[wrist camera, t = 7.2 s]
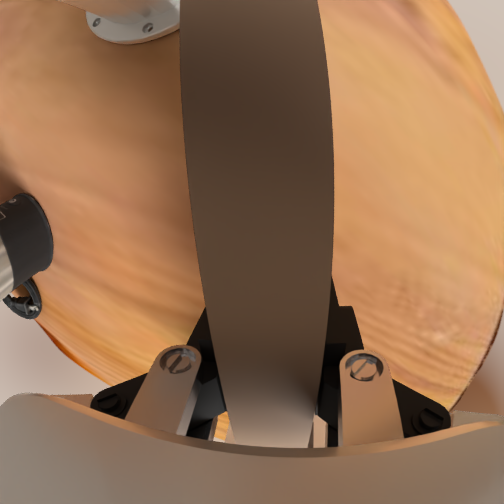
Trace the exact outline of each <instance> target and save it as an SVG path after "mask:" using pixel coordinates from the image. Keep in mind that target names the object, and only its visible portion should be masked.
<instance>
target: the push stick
mask: <svg viewBox="0 0 504 504" xmlns="http://www.w3.org/2000/svg"><path fill="white" fill-rule="evenodd" d="M180 76H181V97H182V114H183V129H184V142H185V153H186V164H187V174H188V184H189V193H190V202H191V210H192V218H193V226H194V234H195V241H196V248H197V255H198V262H199V269H200V275H201V281H202V287H203V293H204V299H205V305H206V311H207V316H208V322H209V327H210V333H211V338H212V343H213V348H214V353H215V358H216V363H217V368H218V372H219V377H220V381H221V386H222V390H223V395H224V399H225V403H226V408H227V412H228V416H229V420H230V424H231V428H232V432H233V436H234V440H235V444H239V445H249V446H261V447H279V448H313V443H314V422H313V418H314V413H315V407H316V402H317V396H318V390H319V384H320V377H321V370H322V363H323V356H324V348H325V340H326V331H327V322H328V312H329V301H330V289H331V275H332V258H333V234H334V152H333V129H332V113H331V100H330V88H329V78H328V69H327V60H326V52H325V45H324V38H323V31H322V25H321V19H320V13H319V8H318V2H317V0H180Z"/></svg>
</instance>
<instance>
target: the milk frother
mask: <svg viewBox="0 0 504 504" xmlns="http://www.w3.org/2000/svg"><path fill="white" fill-rule="evenodd" d="M52 258H53V240H52V234H51V230H50V227H49V224H48V221H47V219H46V216H45V214H44V212H43V210H42V209H41V207H40V206H39V204H38V203H37V202H36V201H35V200H34V199H33V198H32V197H31V196H29V195H27V194H18V195H16V196H14V197H13V198H12V199H11V200H8V201H6V202H5V203H3V204H1V205H0V301H1V300H3V301H4V303H5V304H6V305H7V306H8V307H9V308H10V309H11V310H12V311H13V312H15V313H16V314H18V315H19V316H21V317H23V318H26V319H35V318H36V317H38V316H39V314H40V312H41V308H42V304H41V299H40V296H39V293H38V290H37V288H36V286H35V285H34V284H33V282H32V281H31V280H30V279H29V278H30V277H32V276H33V275H35V274H36V273H38V272H39V271H44V270H46V269H47V268H48V267H49V265H50V264H51V262H52ZM21 284H23V285H24V286H25V287H26V289H27V290H28V291H29V293H30V296H29V297H27V296H26V297H20V296H19V297H18V298H16V297H13V298H12V297H11V296H10V295H9V293H11V292H12V291H13V290H14V289H16V288H17V287H18V286H19V285H21Z"/></svg>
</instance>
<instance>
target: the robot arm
mask: <svg viewBox="0 0 504 504" xmlns="http://www.w3.org/2000/svg"><path fill="white" fill-rule="evenodd" d="M57 1H60V2H63V3H66V4H69V5H72V6H75V7H77V8H80V9H83V10H85V11H86V19H87V23H88V26H89V27H90V29H91V31H92V32H93V33H94V34H95V35H97V36H98V37H100V38H102V39H104V40H107V41H110V42H113V43H117V44H136V43H143V42H147V41H150V40H154V39H157V38H160V37H162V36H165V35H167V34H170V33H172V32H174V31H176V30H178V29H179V28H180V0H57ZM225 411H227V408H226V403H225V399H224V395H223V390H222V386H221V381H220V377H219V372H218V368H217V363H216V358H215V353H214V348H213V343H212V338H211V333H210V327H209V322H208V316H207V311H206V307H205V309H204V311H203V313H202V315H201V317H200V319H199V321H198V323H197V325H196V327H195V328H194V330H193V332H192V334H191V336H190V338H189V340H188V342H187V344H186V345H175V346H171V347H169V348H166V349H164V350H163V351H162V352H160V353H159V355H158V356H157V357H156V359H155V361H154V363H153V365H152V366H151V368H150V370H149V372H148V373H146V374H143V375H141V376H138V377H136V378H133V379H131V380H128V381H125V382H123V383H120V384H118V385H115V386H112V387H110V388H107V389H104V390H102V391H101V392H99V393H98V394H97V395H95V397H93V395H92V394H84V395H82V394H81V395H46V394H38V393H22V394H17V395H14V396H12V397H10V398H9V399H7V400H6V401H5V402H4V403H3V404H2V405H1V406H0V504H504V417H503V416H501V415H494V414H481V413H472V412H471V413H470V412H463V411H455V410H454V412H453V413H452V414H451V413H449V412H448V411H447V410H446V408H445V407H443V406H442V405H441V404H439V403H437V402H435V401H433V400H431V399H429V398H427V397H425V396H424V395H422V394H420V393H418V392H416V391H414V390H412V389H410V388H408V387H407V386H405V385H403V384H401V383H399V382H397V381H395V380H394V379H392V378H391V373H390V369H389V366H388V363H387V361H386V360H385V359H384V358H383V357H382V356H381V355H380V354H378V353H376V352H373V351H370V350H364V347H363V343H362V339H361V335H360V332H359V328H358V324H357V321H356V317H355V314H354V310H353V308H352V306H339V304H338V300H337V296H336V291H335V287H334V283H333V279H332V275H331V289H330V301H329V312H328V322H327V331H326V340H325V348H324V356H323V363H322V370H321V377H320V384H319V390H318V396H317V402H316V407H315V415H318V417H320V418H321V419H322V420H324V421H325V422H326V426H325V447H324V448H279V447H261V446H249V445H239V444H230V443H223V442H215V441H213V438H214V434H215V430H216V425H217V421H218V415H220V414H222V413H224V412H225Z"/></svg>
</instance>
